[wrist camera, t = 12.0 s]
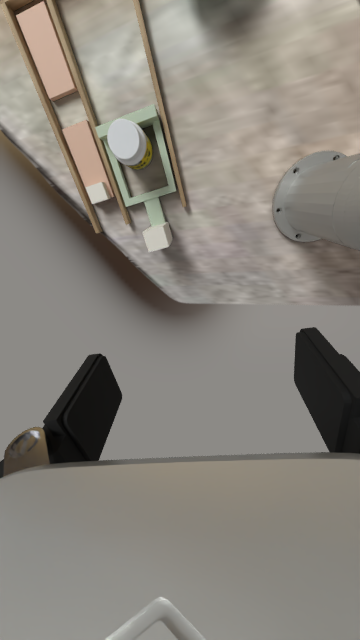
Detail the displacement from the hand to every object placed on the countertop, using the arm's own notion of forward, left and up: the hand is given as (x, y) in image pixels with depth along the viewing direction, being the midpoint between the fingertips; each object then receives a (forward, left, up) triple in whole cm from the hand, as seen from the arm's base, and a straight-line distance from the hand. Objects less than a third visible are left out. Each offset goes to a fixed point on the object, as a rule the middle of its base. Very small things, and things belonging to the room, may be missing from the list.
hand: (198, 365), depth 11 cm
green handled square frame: (+5, -10, -33) cm, 35 cm away
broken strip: (+13, -21, -34) cm, 42 cm away
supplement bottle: (+5, -15, -34) cm, 38 cm away
